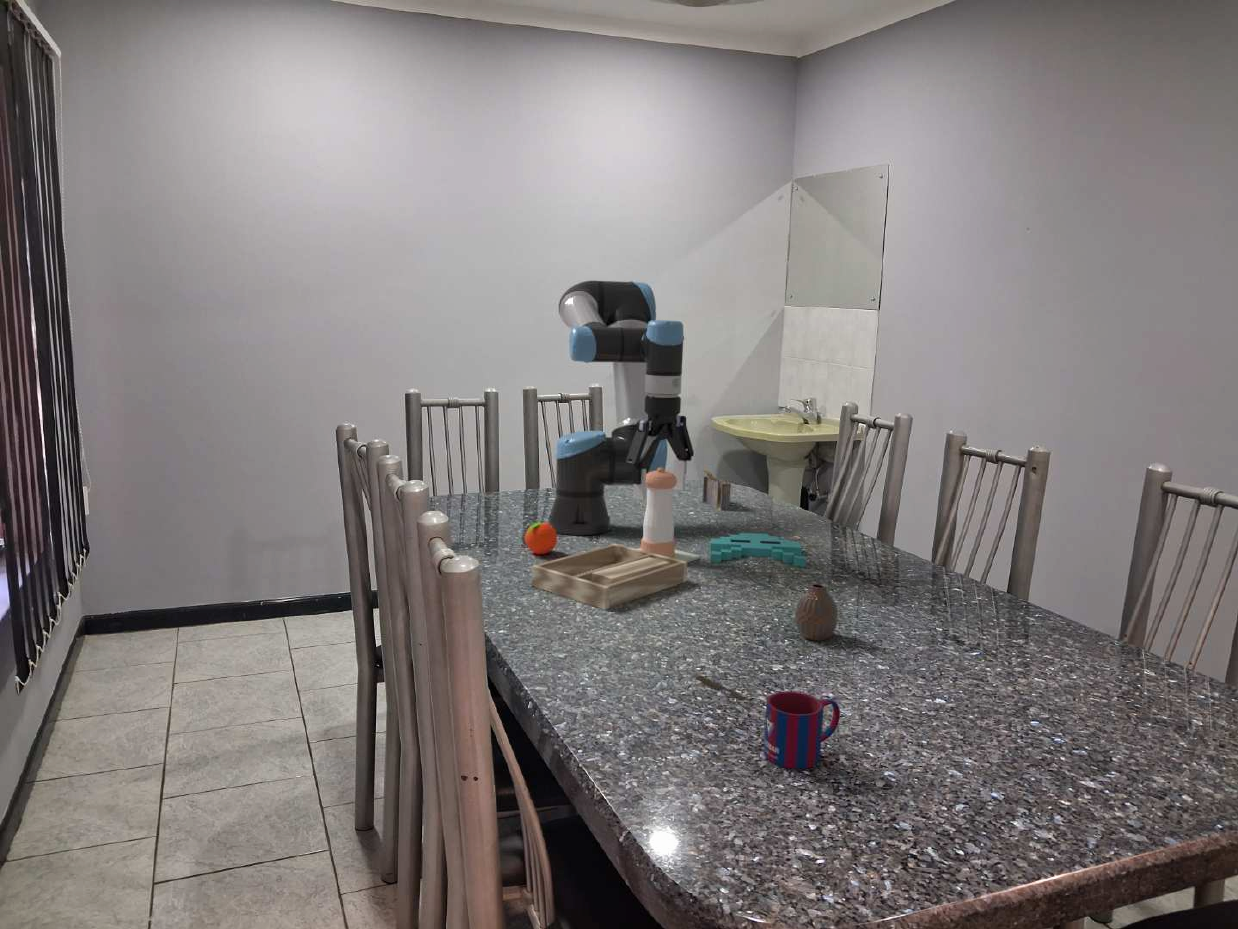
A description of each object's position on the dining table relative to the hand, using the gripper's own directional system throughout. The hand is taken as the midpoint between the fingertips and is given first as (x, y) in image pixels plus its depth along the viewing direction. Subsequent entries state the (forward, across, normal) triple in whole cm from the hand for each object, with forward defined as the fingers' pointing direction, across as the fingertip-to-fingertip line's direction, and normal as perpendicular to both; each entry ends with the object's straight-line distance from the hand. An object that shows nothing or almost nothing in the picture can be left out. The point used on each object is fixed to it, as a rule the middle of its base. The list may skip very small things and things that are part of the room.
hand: (659, 494), depth 192 cm
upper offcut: (+12, -21, -11) cm, 27 cm away
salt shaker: (+14, 0, 0) cm, 14 cm away
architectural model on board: (+15, +52, +21) cm, 58 cm away
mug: (+13, -55, -67) cm, 88 cm away
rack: (+14, -21, -5) cm, 26 cm away
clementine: (+14, -16, +20) cm, 29 cm away
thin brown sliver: (+14, -46, -49) cm, 69 cm away
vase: (+13, -18, -48) cm, 53 cm away
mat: (+14, 0, 0) cm, 14 cm away
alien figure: (+15, +20, -12) cm, 27 cm away
